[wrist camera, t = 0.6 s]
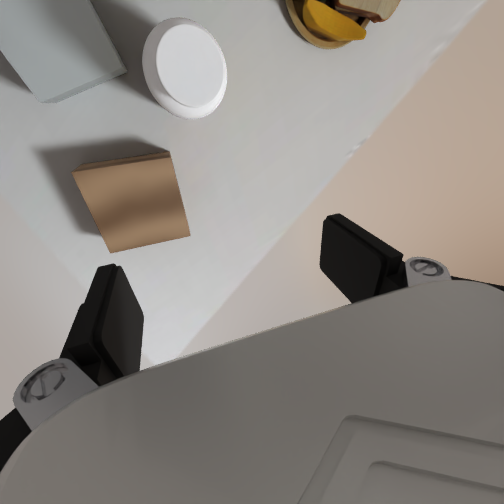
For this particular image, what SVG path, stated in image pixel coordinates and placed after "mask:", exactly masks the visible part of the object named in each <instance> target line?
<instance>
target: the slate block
mask: <svg viewBox="0 0 504 504" xmlns="http://www.w3.org/2000/svg"><path fill="white" fill-rule="evenodd" d="M0 51H1V52H2V53H3V55H4V56H5V57H6V59H7V60H8V61H9V63H10V64H11V65H12V67H13V68H14V69H15V71H16V72H17V73H18V75H19V76H20V77H21V79H22V80H23V81H24V83H25V84H26V85H27V87H28V88H29V89H30V90H31V92H32V93H33V94H34V96H35V97H36V98H37V100H38V101H39V102H40V103H57V102H59V101H62V100H64V99H66V98H68V97H71V96H73V95H75V94H78V93H80V92H82V91H85V90H87V89H89V88H92V87H94V86H96V85H99V84H101V83H103V82H105V81H108V80H110V79H112V78H115V77H117V76H119V75H122V74H124V73H126V72H128V71H127V69H126V67H125V65H124V63H123V62H122V60H121V58H120V56H119V54H118V52H117V50H116V48H115V47H114V45H113V43H112V41H111V39H110V37H109V35H108V33H107V32H106V30H105V28H104V26H103V24H102V22H101V20H100V18H99V17H98V15H97V13H96V11H95V9H94V7H93V5H92V3H91V1H90V0H0Z"/></svg>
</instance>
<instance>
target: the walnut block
mask: <svg viewBox="0 0 504 504" xmlns="http://www.w3.org/2000/svg"><path fill="white" fill-rule="evenodd" d="M71 173H72V175H73V177H74V179H75V181H76V183H77V185H78V187H79V190H80V192H81V194H82V196H83V198H84V200H85V202H86V204H87V206H88V208H89V210H90V212H91V214H92V217H93V219H94V221H95V223H96V225H97V227H98V229H99V231H100V233H101V235H102V237H103V239H104V241H105V243H106V246H107V248H108V250H109V252H110V253H114V252H119V251H124V250H128V249H133V248H137V247H142V246H146V245H151V244H156V243H160V242H165V241H169V240H174V239H178V238H183V237H188V236H190V231H189V226H188V222H187V218H186V214H185V210H184V206H183V202H182V198H181V194H180V190H179V186H178V183H177V179H176V175H175V171H174V167H173V163H172V159H171V155H170V152H163V153H156V154H149V155H142V156H135V157H129V158H122V159H115V160H108V161H101V162H94V163H87V164H82V165H80V166H79V167H78V168H76V169H75V170H74V171H72V172H71Z"/></svg>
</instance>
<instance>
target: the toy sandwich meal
mask: <svg viewBox="0 0 504 504" xmlns="http://www.w3.org/2000/svg"><path fill="white" fill-rule="evenodd" d="M285 1H286V5H287V8H288V12H289V14H290V17H291V19H292V21H293V23H294V25H295V27H296V28H297V30H298V31H299V32H300V34H301V35H302V36H303V37H304V38H305V39H306V40H307V41H308V42H310V43H311V44H312V45H314V46H316V47H319V48H323V49H335V48H339V47H342V46H344V45H346V44H348V43H350V42H351V41H353V40H362V39H364V38H365V36H366V30H365V29H364V28H365V27H366V26H367V24H368V23H369V21H370V20H371V21H372V22H373V23H376V22H383V21H385V20H387V19H388V18H389V17H390V16H391V15H392V14H393V12H394V11H395V9H396V7H397V6H398V4H399V2H400V0H285Z"/></svg>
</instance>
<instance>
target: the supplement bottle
mask: <svg viewBox="0 0 504 504" xmlns="http://www.w3.org/2000/svg"><path fill="white" fill-rule="evenodd" d="M142 65H143V72H144V76H145V80H146V83H147V85H148V88H149V90H150V92H151V93H152V95H153V96H154V98H155V99H156V101H157V102H158V103H159V104H160V105H161V106H162V107H163V108H164V109H166V110H167V111H168V112H170V113H171V114H173V115H175V116H178V117H181V118H184V119H199V118H202V117H205V116H207V115H209V114H210V113H211V112H213V111H214V110H215V109H216V108H217V107H218V105H219V104H220V102H221V100H222V98H223V96H224V93H225V90H226V85H227V68H226V63H225V59H224V56H223V53H222V50H221V48H220V46H219V45H218V43H217V41H216V40H215V38H214V37H213V36H212V35H211V34H210V32H209V31H207V30H206V29H205V28H204V27H203V26H201V25H200V24H198V23H197V22H195V21H192V20H190V19H186V18H170V19H167V20H164V21H162V22H161V23H159V24H158V25H157V26H155V27H154V29H153V30H152V31H151V32H150V34H149V35H148V37H147V39H146V42H145V45H144V48H143V55H142Z"/></svg>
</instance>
